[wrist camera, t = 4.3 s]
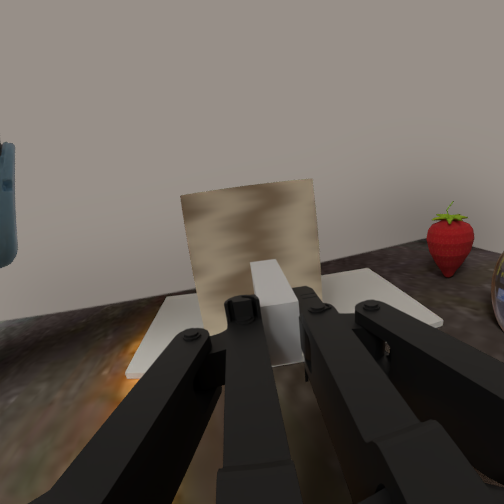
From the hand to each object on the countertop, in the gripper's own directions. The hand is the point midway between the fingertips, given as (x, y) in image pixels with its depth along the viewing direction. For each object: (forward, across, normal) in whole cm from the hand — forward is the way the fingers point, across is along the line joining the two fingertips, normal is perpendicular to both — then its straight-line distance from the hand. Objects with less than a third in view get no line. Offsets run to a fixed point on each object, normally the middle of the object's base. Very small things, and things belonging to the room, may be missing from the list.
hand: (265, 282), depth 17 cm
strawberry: (+13, +25, -8) cm, 29 cm away
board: (+7, 0, -7) cm, 10 cm away
